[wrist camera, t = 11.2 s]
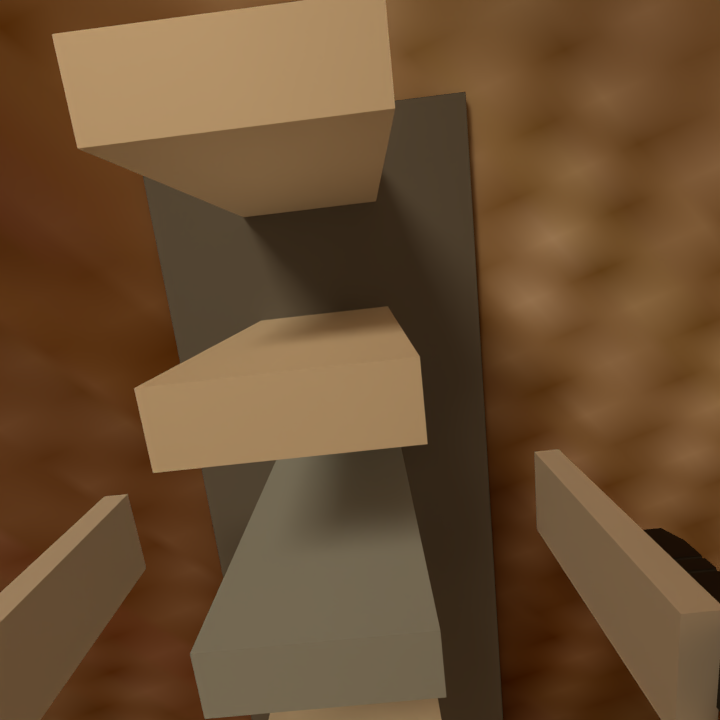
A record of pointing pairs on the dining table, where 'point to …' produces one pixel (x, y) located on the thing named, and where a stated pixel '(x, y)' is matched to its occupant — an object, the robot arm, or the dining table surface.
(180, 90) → the domino
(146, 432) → the domino
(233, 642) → the domino
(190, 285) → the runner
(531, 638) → the dining table surface
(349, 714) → the domino
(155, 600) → the dining table surface
